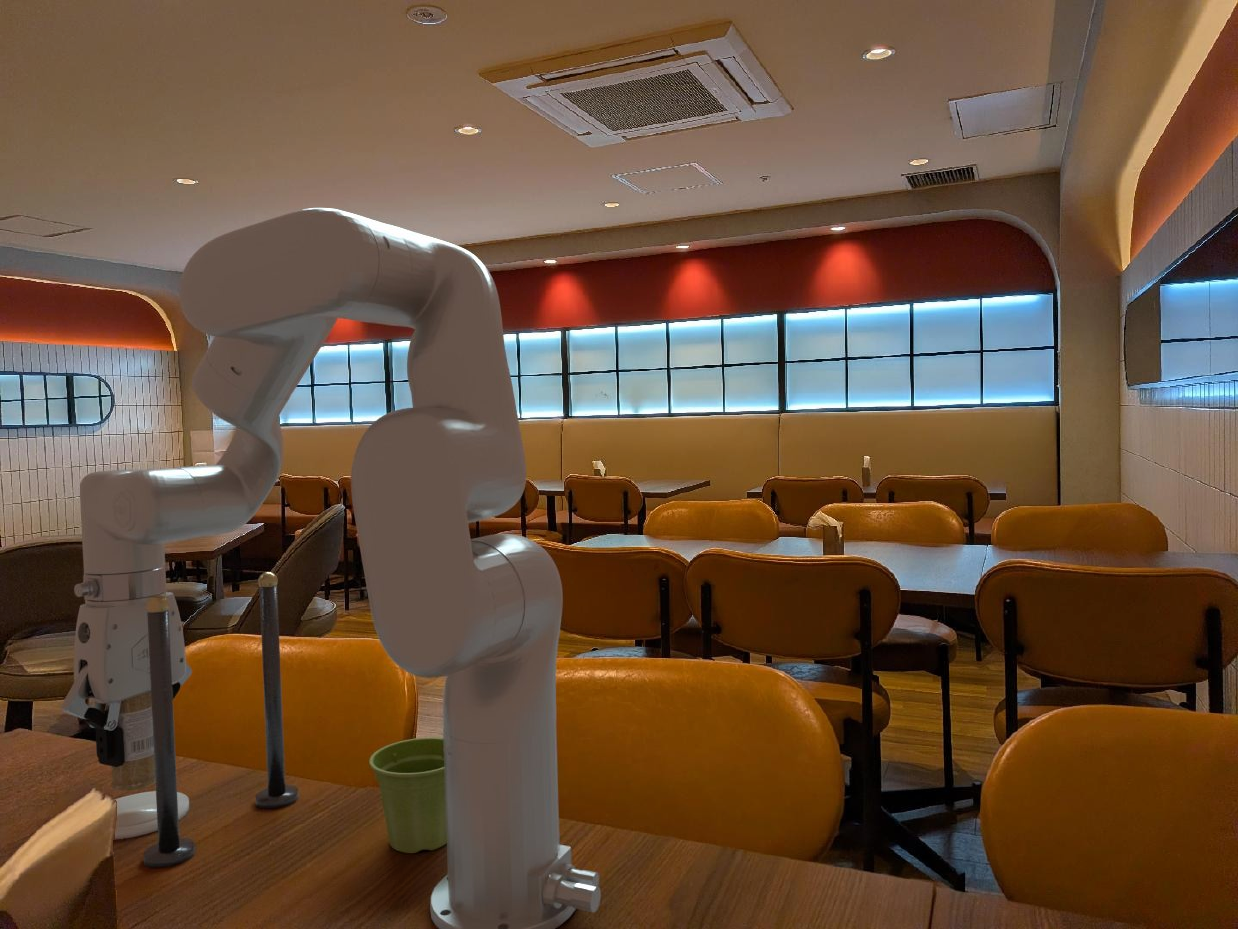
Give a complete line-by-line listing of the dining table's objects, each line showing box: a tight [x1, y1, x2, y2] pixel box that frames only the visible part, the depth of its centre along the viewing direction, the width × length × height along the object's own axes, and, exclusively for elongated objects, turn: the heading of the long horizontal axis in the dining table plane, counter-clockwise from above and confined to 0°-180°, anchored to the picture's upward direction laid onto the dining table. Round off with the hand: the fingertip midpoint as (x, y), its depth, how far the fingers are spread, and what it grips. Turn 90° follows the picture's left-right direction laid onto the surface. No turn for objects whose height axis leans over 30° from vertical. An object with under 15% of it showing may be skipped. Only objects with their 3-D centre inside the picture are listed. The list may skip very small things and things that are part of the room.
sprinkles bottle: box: [110, 692, 156, 792], centre depth 92 cm, size 5×5×14 cm
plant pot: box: [369, 736, 447, 854], centre depth 86 cm, size 9×9×9 cm
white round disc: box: [114, 790, 190, 840], centre depth 92 cm, size 10×10×1 cm
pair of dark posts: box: [142, 571, 299, 869], centre depth 89 cm, size 4×18×26 cm, turn 156°
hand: (134, 753), depth 92 cm, fingers closed on sprinkles bottle, 4 cm apart
